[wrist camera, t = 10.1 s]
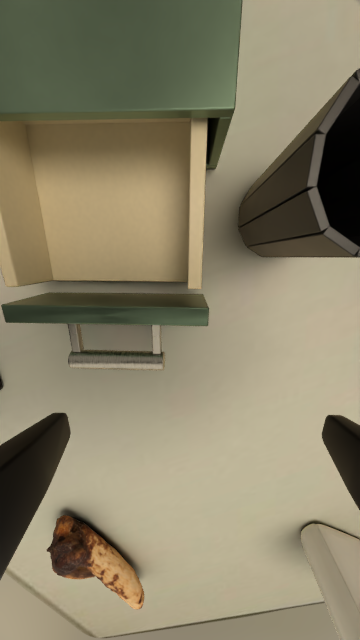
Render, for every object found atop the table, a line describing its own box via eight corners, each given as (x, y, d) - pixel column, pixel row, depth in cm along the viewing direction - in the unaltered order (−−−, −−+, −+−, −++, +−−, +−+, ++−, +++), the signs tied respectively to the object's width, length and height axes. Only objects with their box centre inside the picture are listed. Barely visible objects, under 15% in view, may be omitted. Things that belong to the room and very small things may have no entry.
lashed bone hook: (34, 518, 28) (112, 588, 32) (3, 568, 24) (98, 642, 27) (83, 499, 26) (160, 576, 30) (59, 550, 21) (153, 632, 25)
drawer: (201, 352, 18) (205, 383, 14) (59, 349, 19) (20, 378, 14) (210, 116, 13) (222, 45, 9) (16, 120, 13) (-68, 53, 9)
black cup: (308, 257, 16) (463, 257, 7) (235, 256, 16) (294, 257, 7) (324, 172, 14) (557, 27, 5) (242, 172, 15) (331, 34, 6)
